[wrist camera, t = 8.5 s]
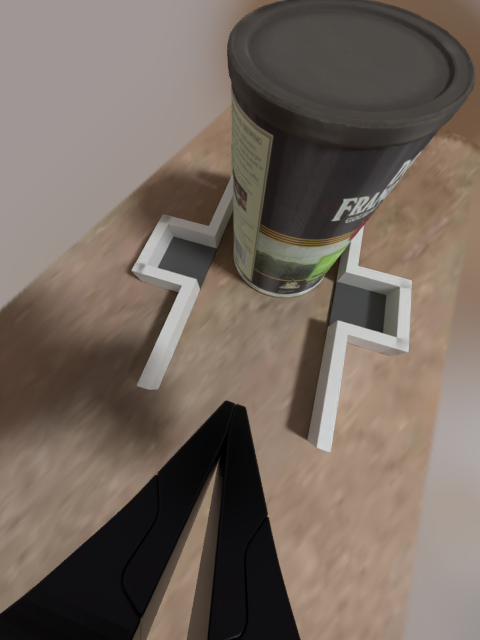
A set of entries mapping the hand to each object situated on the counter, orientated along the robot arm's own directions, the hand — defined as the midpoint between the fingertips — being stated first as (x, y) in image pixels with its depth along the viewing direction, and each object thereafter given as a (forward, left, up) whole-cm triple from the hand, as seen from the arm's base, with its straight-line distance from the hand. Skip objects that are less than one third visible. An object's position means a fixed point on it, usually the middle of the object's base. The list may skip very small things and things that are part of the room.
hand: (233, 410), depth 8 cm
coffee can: (+13, -8, -10) cm, 18 cm away
